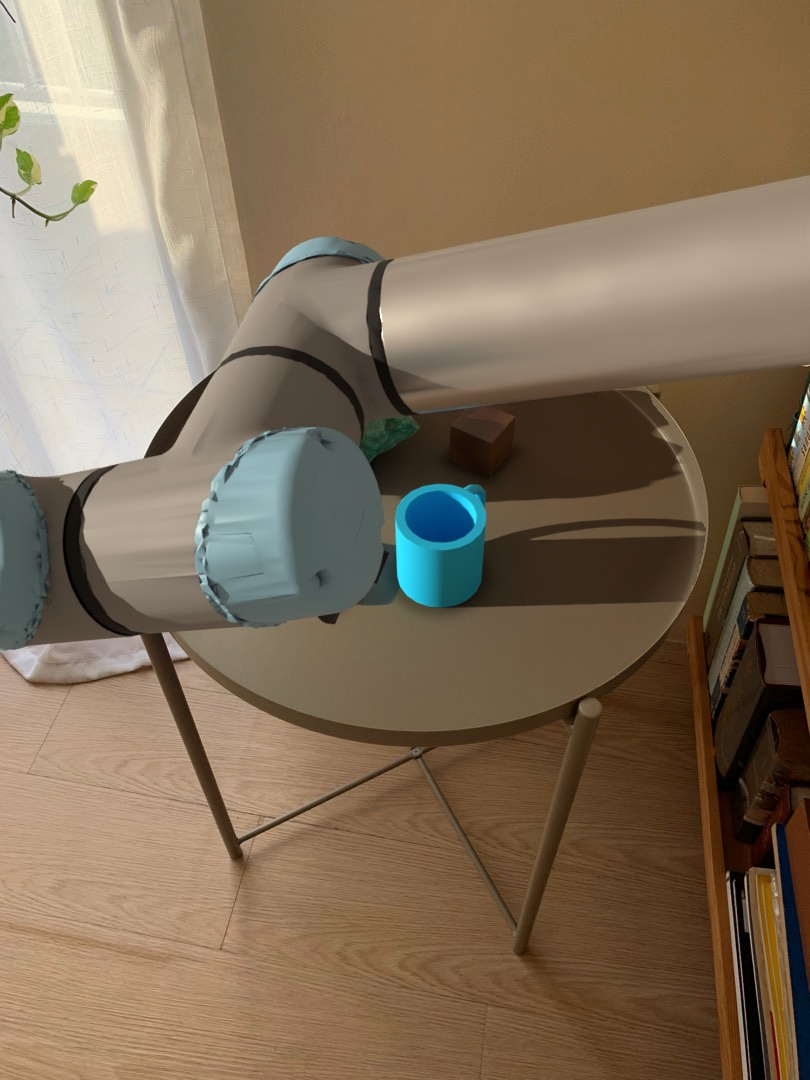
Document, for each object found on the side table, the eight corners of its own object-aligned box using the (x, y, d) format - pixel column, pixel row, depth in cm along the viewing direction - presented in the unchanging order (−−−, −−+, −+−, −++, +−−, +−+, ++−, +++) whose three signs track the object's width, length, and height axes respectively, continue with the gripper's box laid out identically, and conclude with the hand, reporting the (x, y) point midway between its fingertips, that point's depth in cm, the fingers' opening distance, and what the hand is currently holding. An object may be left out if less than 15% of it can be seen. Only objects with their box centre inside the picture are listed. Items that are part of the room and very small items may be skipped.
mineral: (310, 385, 105) (301, 313, 97) (440, 404, 102) (441, 331, 95) (256, 493, 93) (242, 421, 85) (402, 518, 90) (400, 445, 83)
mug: (454, 621, 81) (456, 564, 75) (380, 584, 84) (377, 526, 78) (516, 538, 88) (523, 480, 82) (445, 507, 91) (447, 448, 85)
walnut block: (512, 451, 96) (515, 416, 93) (488, 478, 94) (491, 443, 90) (473, 434, 98) (475, 399, 95) (449, 460, 96) (450, 425, 92)
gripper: (85, 573, 52) (295, 572, 74) (250, 677, 47) (425, 643, 69) (127, 456, 51) (328, 489, 73) (302, 549, 46) (463, 555, 68)
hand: (375, 564), depth 71 cm, fingers closed
